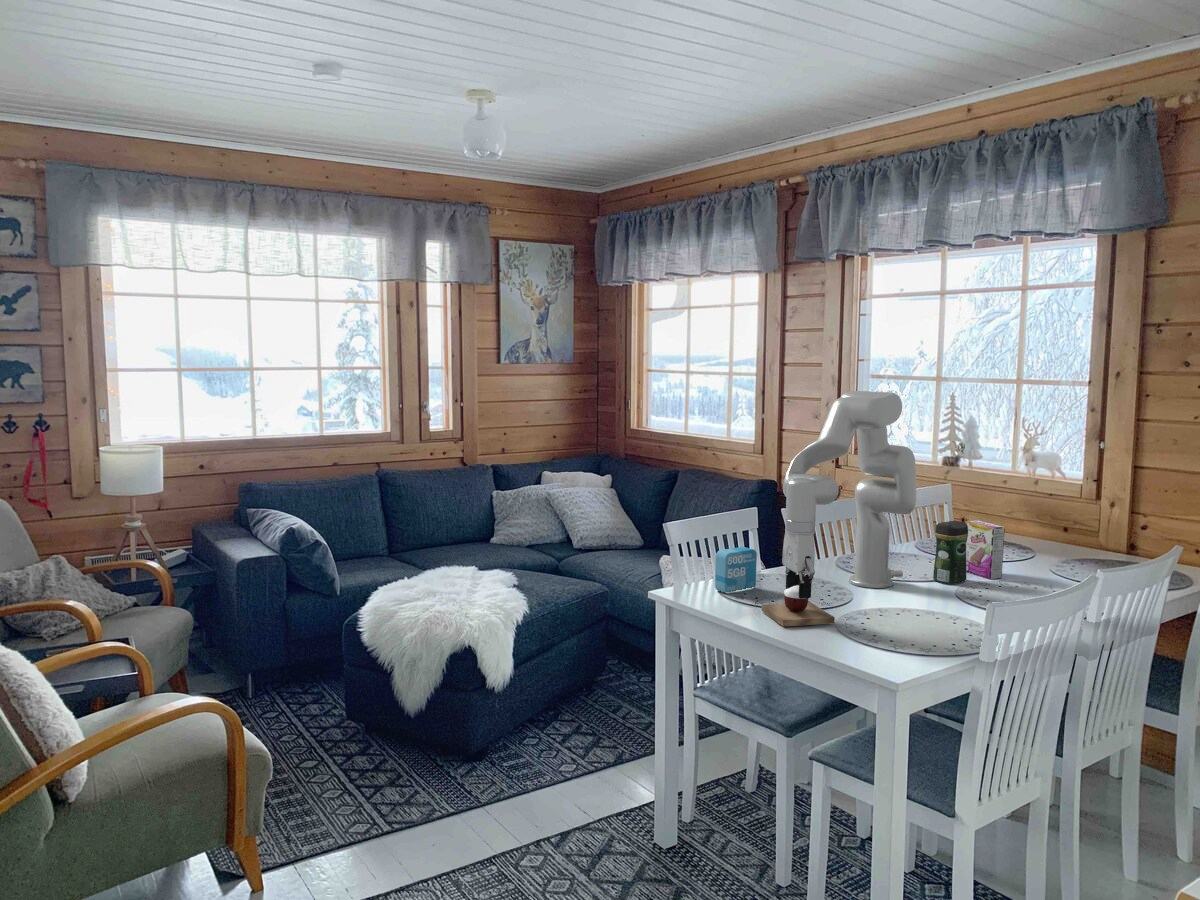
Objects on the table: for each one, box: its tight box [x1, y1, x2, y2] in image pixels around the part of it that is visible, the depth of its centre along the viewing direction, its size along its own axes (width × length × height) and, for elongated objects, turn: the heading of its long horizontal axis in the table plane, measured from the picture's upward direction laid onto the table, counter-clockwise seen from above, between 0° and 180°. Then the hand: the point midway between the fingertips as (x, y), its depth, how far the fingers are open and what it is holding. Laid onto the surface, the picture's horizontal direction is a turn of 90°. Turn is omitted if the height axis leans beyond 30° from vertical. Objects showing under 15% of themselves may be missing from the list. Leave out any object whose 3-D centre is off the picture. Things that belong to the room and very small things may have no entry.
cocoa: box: [783, 569, 810, 611], centre depth 235 cm, size 10×6×12 cm, turn 132°
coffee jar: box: [932, 519, 968, 585], centre depth 273 cm, size 10×8×19 cm
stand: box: [761, 601, 835, 628], centre depth 235 cm, size 14×14×2 cm
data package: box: [714, 546, 758, 593], centre depth 261 cm, size 12×4×12 cm, turn 123°
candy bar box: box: [966, 519, 1006, 580], centre depth 281 cm, size 11×5×16 cm, turn 22°
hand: (798, 593), depth 234 cm, fingers open, 7 cm apart
